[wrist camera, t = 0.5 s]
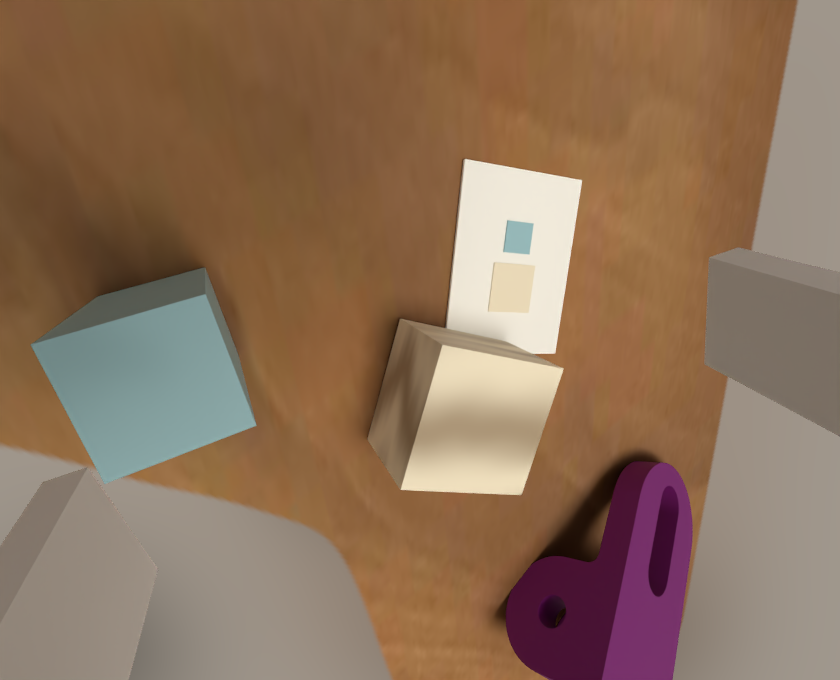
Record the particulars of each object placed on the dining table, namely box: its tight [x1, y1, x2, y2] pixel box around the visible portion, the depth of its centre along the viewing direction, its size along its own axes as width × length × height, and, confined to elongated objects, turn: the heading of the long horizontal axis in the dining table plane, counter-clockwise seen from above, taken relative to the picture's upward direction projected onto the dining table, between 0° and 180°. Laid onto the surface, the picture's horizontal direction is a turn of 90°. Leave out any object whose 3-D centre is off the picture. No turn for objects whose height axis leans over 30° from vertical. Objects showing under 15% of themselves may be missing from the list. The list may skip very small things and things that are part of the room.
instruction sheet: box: [445, 159, 582, 354], centre depth 32 cm, size 12×9×1 cm
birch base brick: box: [367, 319, 563, 495], centre depth 29 cm, size 8×8×6 cm
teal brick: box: [31, 267, 256, 484], centre depth 20 cm, size 5×5×10 cm
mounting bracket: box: [506, 461, 692, 680], centre depth 40 cm, size 10×9×19 cm
